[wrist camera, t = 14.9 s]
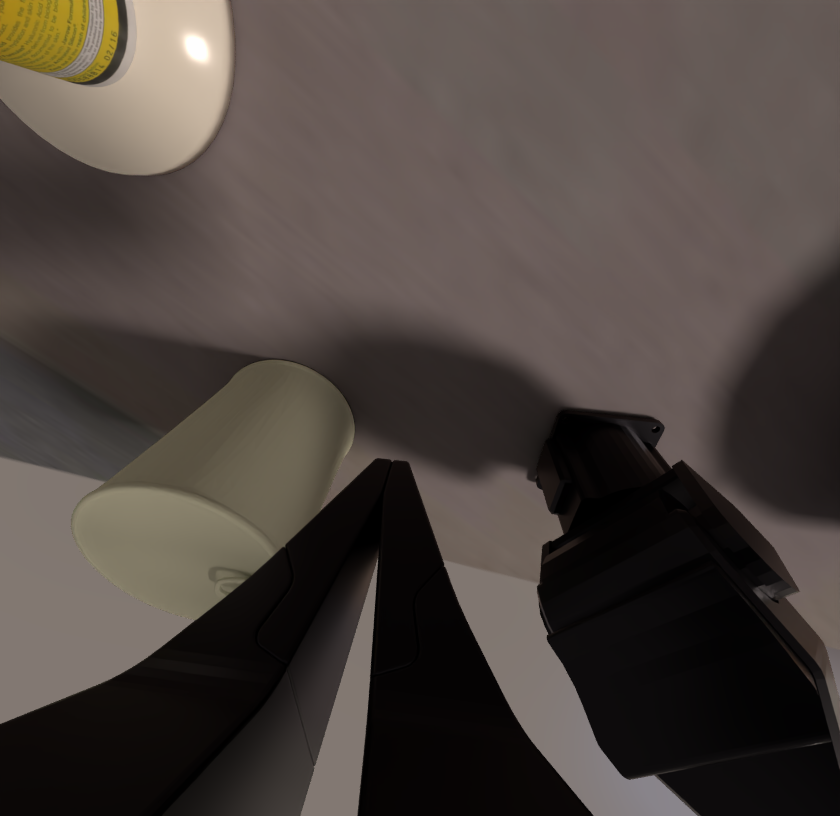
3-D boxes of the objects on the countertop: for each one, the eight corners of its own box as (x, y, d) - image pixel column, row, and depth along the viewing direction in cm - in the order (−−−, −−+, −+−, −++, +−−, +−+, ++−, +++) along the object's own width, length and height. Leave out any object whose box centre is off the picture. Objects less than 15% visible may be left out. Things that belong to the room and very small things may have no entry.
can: (343, 482, 27) (275, 652, 17) (226, 450, 27) (83, 606, 17) (367, 383, 23) (294, 537, 12) (225, 340, 22) (25, 465, 12)
